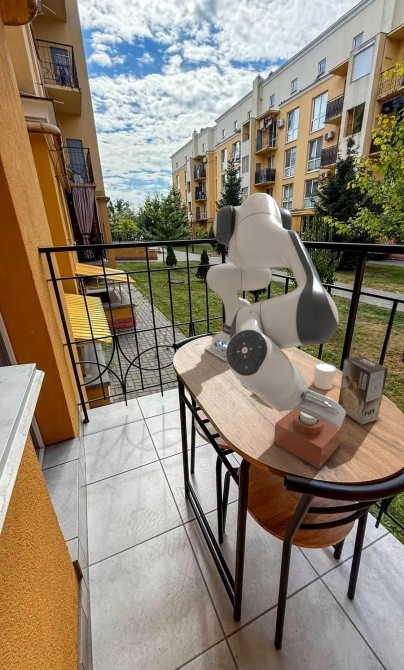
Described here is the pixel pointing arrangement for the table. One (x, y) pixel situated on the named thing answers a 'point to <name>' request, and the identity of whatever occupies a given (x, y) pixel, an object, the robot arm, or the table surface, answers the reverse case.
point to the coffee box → (362, 388)
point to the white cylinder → (324, 375)
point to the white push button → (307, 419)
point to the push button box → (307, 438)
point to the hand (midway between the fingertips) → (302, 406)
